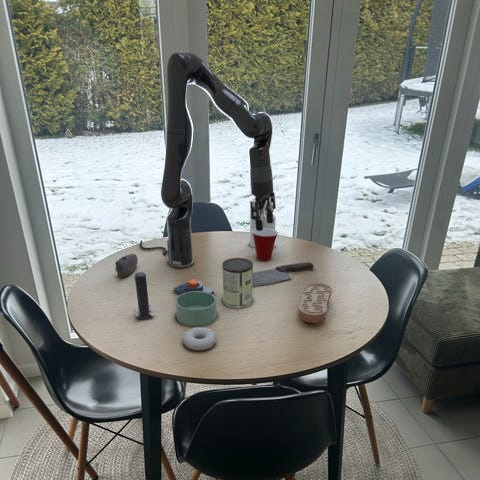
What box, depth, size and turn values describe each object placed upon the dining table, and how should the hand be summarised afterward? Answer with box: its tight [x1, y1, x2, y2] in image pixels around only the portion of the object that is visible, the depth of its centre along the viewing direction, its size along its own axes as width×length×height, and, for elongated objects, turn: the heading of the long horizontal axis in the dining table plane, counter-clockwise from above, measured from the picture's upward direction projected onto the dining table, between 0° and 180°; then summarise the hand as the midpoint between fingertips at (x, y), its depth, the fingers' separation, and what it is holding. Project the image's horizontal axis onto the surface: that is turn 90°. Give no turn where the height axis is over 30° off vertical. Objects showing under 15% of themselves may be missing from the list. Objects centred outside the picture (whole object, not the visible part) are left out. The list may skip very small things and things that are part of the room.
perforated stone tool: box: [115, 253, 139, 278], centre depth 182 cm, size 15×5×7 cm, turn 163°
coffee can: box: [221, 257, 254, 309], centre depth 160 cm, size 10×10×14 cm
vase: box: [249, 197, 277, 248], centre depth 205 cm, size 11×7×20 cm, turn 77°
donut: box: [182, 326, 217, 351], centre depth 139 cm, size 10×4×10 cm
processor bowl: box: [174, 291, 218, 327], centre depth 153 cm, size 13×13×6 cm
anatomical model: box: [297, 282, 333, 324], centre depth 157 cm, size 23×10×5 cm, turn 164°
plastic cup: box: [252, 228, 279, 262], centre depth 194 cm, size 11×11×12 cm
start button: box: [187, 278, 199, 288], centre depth 166 cm, size 4×4×2 cm
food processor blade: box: [132, 271, 157, 321], centre depth 150 cm, size 8×8×15 cm
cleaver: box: [252, 261, 314, 287], centre depth 181 cm, size 30×10×2 cm, turn 116°
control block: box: [173, 280, 215, 296], centre depth 167 cm, size 12×8×4 cm
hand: (265, 226), depth 163 cm, fingers open, 8 cm apart
